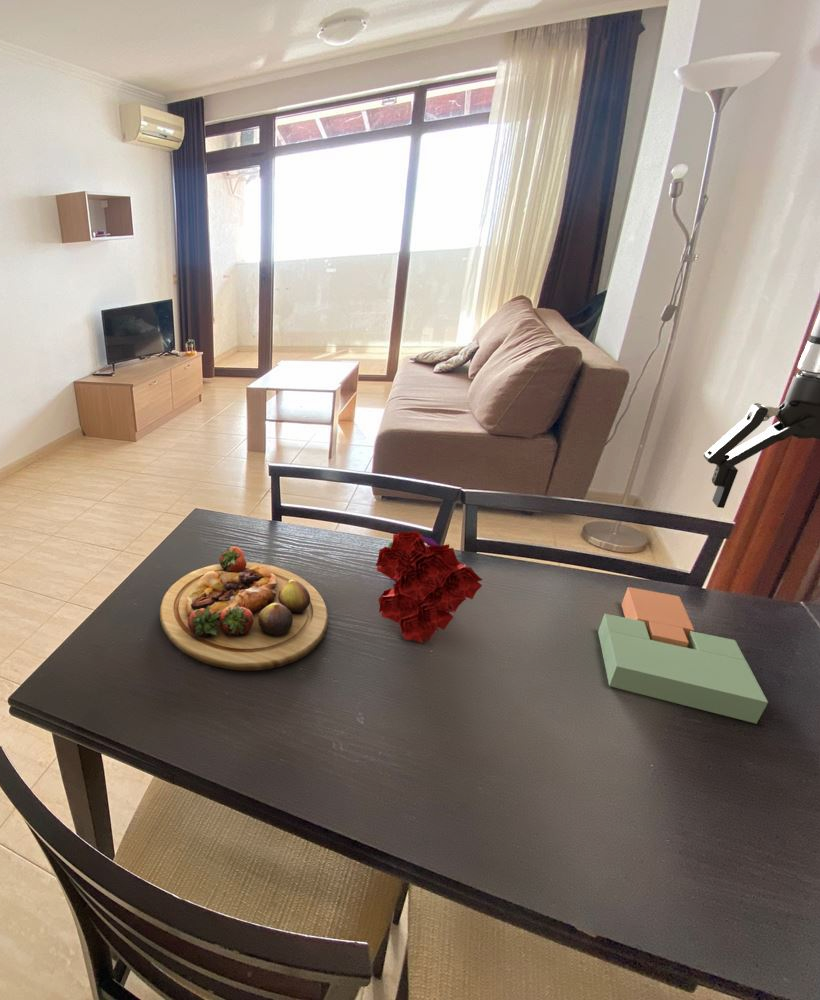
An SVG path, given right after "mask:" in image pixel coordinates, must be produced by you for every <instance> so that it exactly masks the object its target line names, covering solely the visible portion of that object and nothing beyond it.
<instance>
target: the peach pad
mask: <svg viewBox="0 0 820 1000" xmlns="http://www.w3.org/2000/svg"><path fill="white" fill-rule="evenodd" d="M621 608H622V612H623V614H624V616H623V617H624V618H629V619H634V620H639V621H644V622H645V625H646V628H647V632H648V635H649V638H650V640H653V641H658V642H662V643H667V644H672V645H676V646H681V647H686V648H687V646H688V643H689V642H688V640H687V638H688V636H689V633H690V631H692V632H695V629H694V626H693V624H692V621H691V619H690V617H689V615H688V612H687V610H686V608H685V606H684V604H683V602H682V598H681V597H680V596H679V595H674V594H669V593H664V592H658V591H652V590H646V589H642V588H636V587H630V586H628V587H627V588H626V591H625V594H624V597H623V600H622V602H621Z"/></svg>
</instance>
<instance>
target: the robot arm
mask: <svg viewBox="0 0 820 1000" xmlns="http://www.w3.org/2000/svg"><path fill="white" fill-rule="evenodd" d="M816 317H817V318H816V319H815V323H814V325H813V328H812V330H811V333H810V336H809V338H808V340H807V343H806V344H805V347H804V350H803V352H802V354H801V357H800V359H799V361H798V364H797V369H798V370H799V372H797V373H795V374H794V375H793V377H792V380H791V382H790V385H789V387H788V390H787V392H786V395H785V398H784V400H783V402H782V403H781V404H780V406H777V407H776V406H775V407H773V406H769V405H763V404H761V403H759V402H755V403H753V404H751V405H750V407H749V408H748V411H747V413H746V415H745V416H744V417H743V418H742V419H741V420H740V421H739V422H738V423H737V424H735V426H733V427H732V428H731V429H730V430H728V431H727V432H726V434H724V435H723V436H722V437H721V438H720V439H718V441H717V442H715V443H714V444H713V445H711V447H710V448H709V449H707V450H706V451H705V452H704V453H703V457H704V459H705V460H706V461H707V462H708V463H709V464H713V465H716V467H715V469H714V472H713V475H712V477H711V483H712V484H713V486H715V487H716V489H715V491H714V494H713V496H712V502H713V504H714V505H715V506H716V507H717V508H719V509H720V508H721V509H725V507H726V504H727V501H728V498H729V495H730V493H731V491H732V488H733V485H734V482H735V480H736V477H737V474H738V472H739V469H738V468H737V467H736V466H737V465H738V464H740V463H742V462H744V461H746V460H747V459H750V458H751V457H753V456H755V455H756V454H758V453H760V452H762V451H763V450H766V449H767V448H768V447H771V446H773V445H775V444H776V443H778V442H781V441H784V440H785V441H786V440H787V439H789V438H790V437H793V438H796V439H803V440H804V439H817V440H820V311H818V314H817V316H816ZM772 417H776V419H777V420H778V421H777V422H775V423H774V424H771V425H770V426H769V427H767V428H766V430H764V431H763V432H761V433H759V434H758V435H756V436H754V437H752V438H750V439H749V440H747V441H745V442H743V443H742V441H743V440H745V439H746V438H747V437H748V436H750V434H752V433H753V432H754V431H756V429H757V428H758V427H759V426H760V425H761V424H762V423H763V422H766V421H768V420H769V419H771V418H772ZM740 443H742V444H740ZM739 444H740V445H739Z"/></svg>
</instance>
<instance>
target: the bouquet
mask: <svg viewBox="0 0 820 1000" xmlns="http://www.w3.org/2000/svg"><path fill="white" fill-rule="evenodd" d="M466 565H467V564H466V563H461V562H460V561H459V560H458V558H457V556H456V552H455V549H454V547H450V544H449V543H448V544H442V545H439V543H437V542H436V541H435V540H434V538H431V537H427V536H423V535H422V534H421V533H419V532H418V530H413V531H397V533H393V536H392V542H389V544H388V546H384V547H382V548H380V549H379V550H378V556H377V561H376V563H375V566H376V571H377V572H379V573H380V574H382V575H384V576H386V577H388V578H389V579H390V580H392V581H394V582H395V583H394V584H393V588H388V589H385V590H383V592H382V593H381V595H380V596H379V598H378V604H379V609H378V610H379V614H380V613H381V618H384V619H388V620H391V621H393V622H395V623H398V625H399V629H400V634H401V636H403V639H404V640H410V641H415V642H419V643H424V640H426V641H427V642H429V641H430V639H431V637H432V636H433V635H434V634H435V633H436V632H438V631H439V628H440V629H442V630H445V629H446V628H447V626H448V625H449V623H450V622H451V621H452V620H453V619H454V615H453V614H452V613H456V611H457V609H458V608H459V607H460V606H461V605H462V603H464V602H465V601H467V599H469V600H473V599H474V597H475V595H476V593H477V592H478V591H479V590H480V589H481V588H482V587H483V584H481V583H480V582H481V581H483V579H482V578H481V577H480V576H479V575H478V574H477V573H476V572H475V571H474V569H473V567H471V566H470V567H469V566H468V567H466Z"/></svg>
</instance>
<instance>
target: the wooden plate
mask: <svg viewBox="0 0 820 1000" xmlns="http://www.w3.org/2000/svg"><path fill="white" fill-rule="evenodd" d="M218 560H219V563H216V564H212V565H207V566H205V567H202V568H198V569H196V570H193V571H191V572H189V573H187V574H185V575H184V576H182V577H180V578H179V579H178V580H177V581H175V582H174V583H173V584H172V585H171V586H170V587H169V588H168V590H167V591H165V594H164V596H163V598H162V600H161V603H160V606H159V607H160V608H159V620H160V624H161V627H162V629H163V632H164V633H165V635H166V637H167V638H168V639H169V640H170V642H171V643H172V644H173V645H174V646H175V647H177V648H178V649H179V650H180V651H181V652H183V654H186V655H187V656H189V657H192V658H193V659H195V660H197V661H199V662H201V663H204V664H207V665H210V666H213V667H217V668H223V669H227V670H234V671H264V670H271V669H275V668H276V669H277V668H279V667H284V666H286V665H289V664H292V663H294V662H296V661H298V660H301V659H302V658H305V657H306V656H307V655H308V654H310V653H311V652H312V651H313V650H314V649H316V647H317V646H318V645H320V643H321V642H322V640H323V639H324V638H325V637H324V636H325V635H326V632H327V628H328V625H329V614H328V613H329V612H328V608H327V605H326V603H325V601H324V599H323V597H322V595H321V594H320V592H319V591H318V590H317V589H316V588H315V586H313V585H312V584H311V583H309V582H308V581H307V580H305V579H304V578H302V577H301V576H299V575H298V574H295V573H293V572H291V571H289V570H286V569H284V568H281V567H278V566H274V565H270V564H265V563H260V562H259V563H258V562H250V561H246V558H245V552H244V551H243V550H242V549H241V548H240V547H238V546H231V547H230V548H227V549H226V551H224V552H223V551H221V554H220V555H219V558H218Z"/></svg>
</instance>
